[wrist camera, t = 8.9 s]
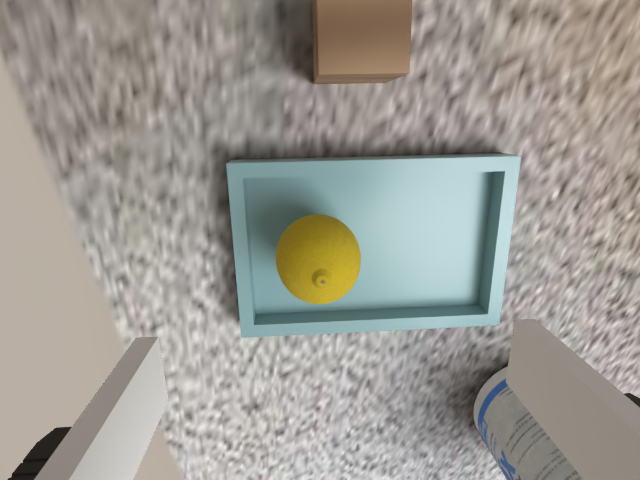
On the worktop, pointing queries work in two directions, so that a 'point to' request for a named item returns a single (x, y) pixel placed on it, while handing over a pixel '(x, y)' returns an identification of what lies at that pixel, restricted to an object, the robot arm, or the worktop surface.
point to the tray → (378, 239)
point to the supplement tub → (517, 435)
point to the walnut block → (360, 40)
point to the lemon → (318, 259)
